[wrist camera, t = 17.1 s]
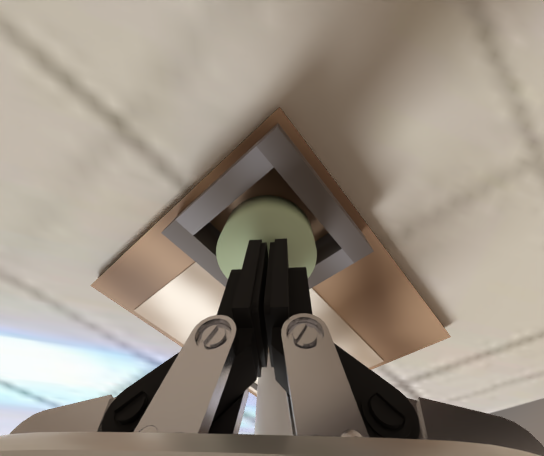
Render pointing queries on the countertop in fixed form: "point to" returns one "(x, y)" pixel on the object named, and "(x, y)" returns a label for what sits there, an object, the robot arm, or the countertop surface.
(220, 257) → the button
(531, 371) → the countertop surface
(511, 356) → the countertop surface
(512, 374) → the countertop surface
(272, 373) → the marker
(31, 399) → the countertop surface
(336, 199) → the board
